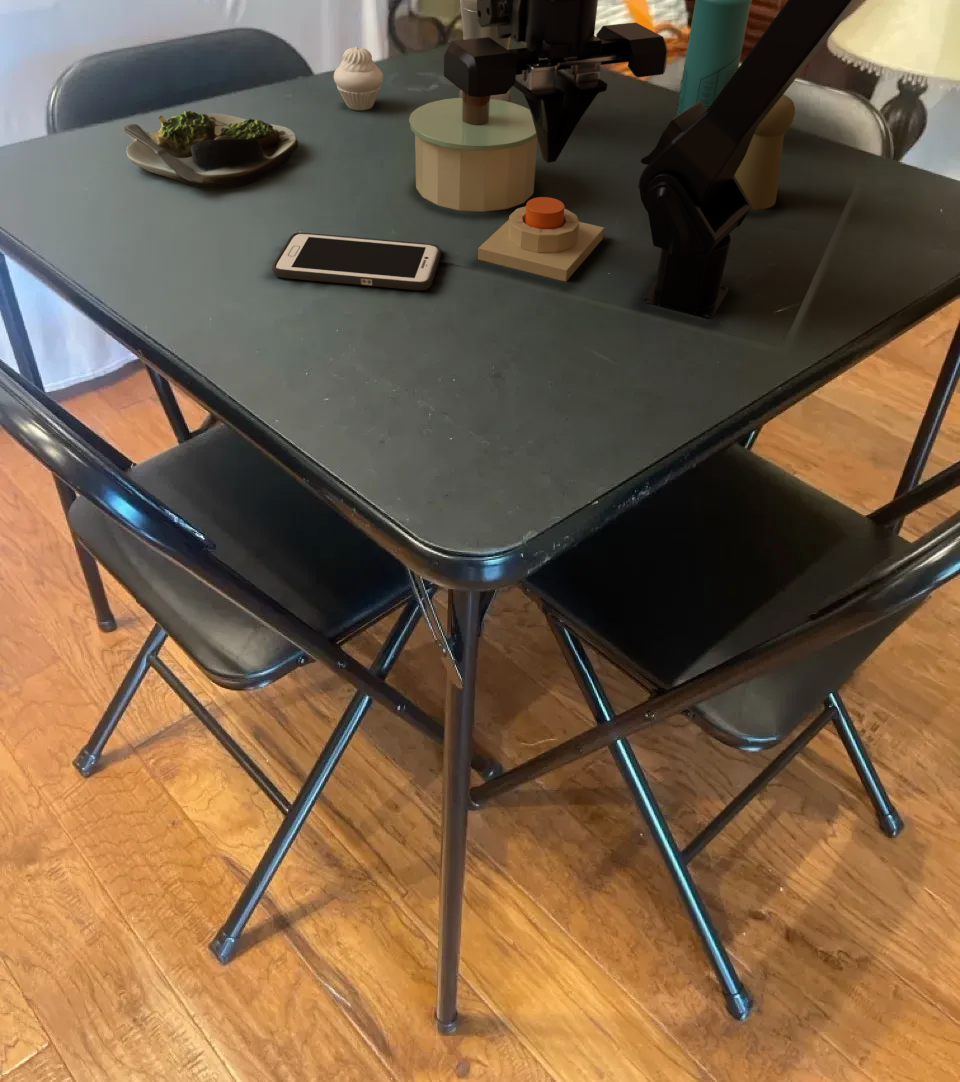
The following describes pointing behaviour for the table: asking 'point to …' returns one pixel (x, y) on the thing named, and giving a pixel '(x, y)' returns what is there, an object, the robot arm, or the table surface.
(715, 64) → the beverage bottle
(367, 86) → the muffin
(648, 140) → the table surface
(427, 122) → the lid
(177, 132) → the salad plate
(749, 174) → the cork
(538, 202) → the button
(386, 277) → the cell phone
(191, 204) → the table surface
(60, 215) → the table surface
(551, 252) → the control block
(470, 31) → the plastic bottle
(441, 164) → the pot
